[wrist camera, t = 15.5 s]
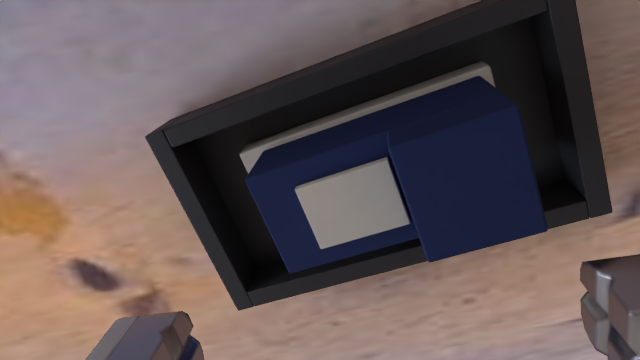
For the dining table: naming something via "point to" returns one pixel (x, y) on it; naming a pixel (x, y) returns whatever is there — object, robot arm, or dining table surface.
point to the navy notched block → (400, 174)
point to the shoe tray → (373, 82)
